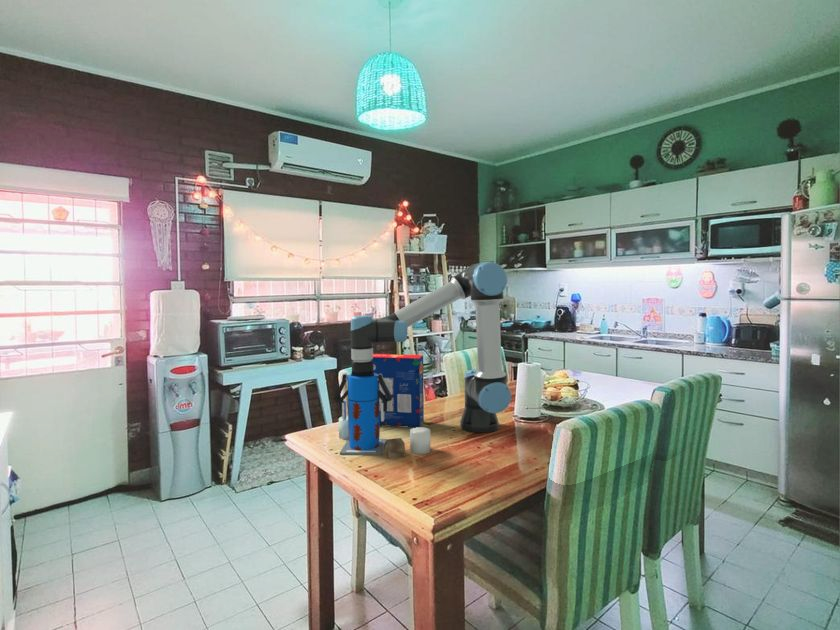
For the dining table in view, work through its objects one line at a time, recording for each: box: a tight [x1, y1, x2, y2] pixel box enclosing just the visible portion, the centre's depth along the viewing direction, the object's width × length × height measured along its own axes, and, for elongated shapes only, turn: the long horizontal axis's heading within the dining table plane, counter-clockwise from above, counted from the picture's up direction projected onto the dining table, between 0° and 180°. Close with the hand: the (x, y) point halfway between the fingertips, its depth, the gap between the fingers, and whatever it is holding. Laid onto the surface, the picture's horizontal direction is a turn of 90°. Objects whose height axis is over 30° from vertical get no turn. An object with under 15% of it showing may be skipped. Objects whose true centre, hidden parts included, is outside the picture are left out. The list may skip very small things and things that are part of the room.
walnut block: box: [385, 437, 406, 460], centre depth 152 cm, size 5×5×5 cm
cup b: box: [338, 415, 349, 441], centre depth 171 cm, size 7×7×7 cm
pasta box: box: [351, 353, 425, 428], centre depth 187 cm, size 28×8×28 cm, turn 78°
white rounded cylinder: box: [409, 426, 431, 455], centre depth 157 cm, size 7×7×7 cm
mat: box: [339, 438, 387, 456], centre depth 160 cm, size 14×14×1 cm
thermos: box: [347, 373, 381, 451], centre depth 160 cm, size 11×11×25 cm
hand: (363, 420), depth 160 cm, fingers open, 13 cm apart
